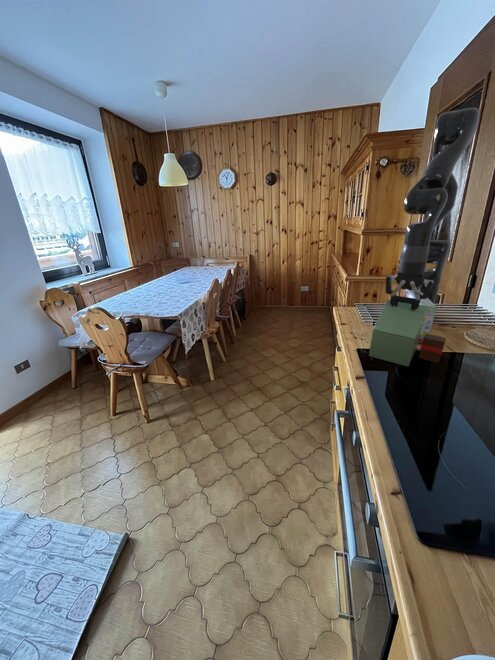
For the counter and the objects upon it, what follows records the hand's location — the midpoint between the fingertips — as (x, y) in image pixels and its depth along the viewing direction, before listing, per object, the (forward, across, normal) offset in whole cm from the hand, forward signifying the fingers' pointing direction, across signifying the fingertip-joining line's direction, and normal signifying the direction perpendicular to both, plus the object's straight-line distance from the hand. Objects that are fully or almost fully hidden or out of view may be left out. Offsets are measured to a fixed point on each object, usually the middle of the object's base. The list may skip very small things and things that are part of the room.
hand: (403, 307), depth 97 cm
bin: (+16, 0, +3) cm, 16 cm away
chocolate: (+16, -11, +1) cm, 20 cm away
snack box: (+17, -2, -18) cm, 24 cm away
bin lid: (+3, 0, +3) cm, 5 cm away
